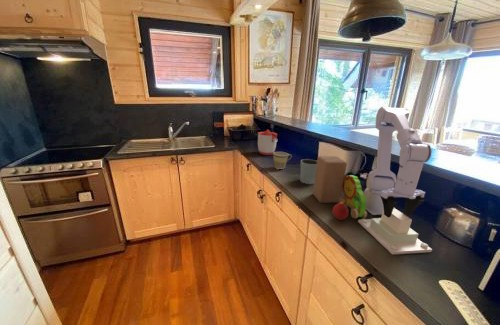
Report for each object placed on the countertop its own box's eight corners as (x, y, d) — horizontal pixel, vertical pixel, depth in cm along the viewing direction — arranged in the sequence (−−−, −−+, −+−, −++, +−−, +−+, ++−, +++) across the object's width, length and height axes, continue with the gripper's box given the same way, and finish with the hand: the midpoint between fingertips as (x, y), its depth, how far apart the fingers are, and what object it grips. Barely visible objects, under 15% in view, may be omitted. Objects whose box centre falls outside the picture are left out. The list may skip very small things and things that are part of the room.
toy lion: (366, 220, 86) (375, 185, 81) (354, 220, 85) (361, 185, 80) (346, 201, 101) (352, 171, 96) (335, 201, 100) (340, 171, 95)
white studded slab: (358, 221, 84) (360, 212, 83) (390, 220, 86) (392, 211, 84) (392, 254, 67) (395, 244, 66) (431, 251, 69) (435, 241, 68)
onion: (342, 215, 88) (346, 198, 85) (349, 223, 82) (353, 205, 80) (329, 215, 88) (332, 198, 85) (334, 223, 82) (338, 205, 80)
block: (340, 203, 98) (348, 162, 92) (319, 203, 97) (325, 162, 91) (331, 193, 107) (337, 155, 101) (311, 193, 107) (317, 155, 100)
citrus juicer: (269, 157, 164) (271, 132, 158) (253, 153, 175) (254, 129, 169) (281, 154, 175) (283, 130, 169) (264, 150, 186) (266, 127, 180)
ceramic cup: (275, 170, 136) (276, 156, 133) (270, 165, 146) (271, 151, 143) (293, 170, 139) (295, 155, 136) (287, 165, 149) (289, 151, 146)
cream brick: (380, 219, 79) (383, 207, 77) (390, 219, 79) (393, 207, 78) (397, 233, 71) (401, 220, 70) (408, 232, 72) (412, 219, 70)
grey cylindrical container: (312, 186, 115) (315, 165, 112) (295, 181, 121) (297, 161, 117) (319, 180, 123) (321, 161, 119) (302, 176, 129) (305, 157, 125)
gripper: (396, 184, 65) (386, 222, 69) (438, 184, 67) (425, 221, 71) (380, 176, 72) (371, 211, 76) (418, 175, 73) (408, 210, 78)
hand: (396, 215), depth 74 cm, fingers open, 7 cm apart
